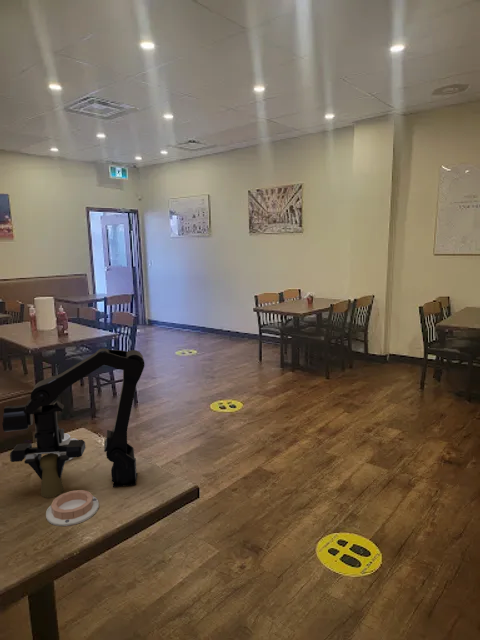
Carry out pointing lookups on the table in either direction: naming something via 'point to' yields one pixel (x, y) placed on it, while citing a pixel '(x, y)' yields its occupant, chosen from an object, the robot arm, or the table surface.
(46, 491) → the brown peg
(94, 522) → the table surface
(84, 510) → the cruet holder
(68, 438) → the cup
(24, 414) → the robot arm
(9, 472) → the table surface
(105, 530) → the table surface
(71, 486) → the table surface
